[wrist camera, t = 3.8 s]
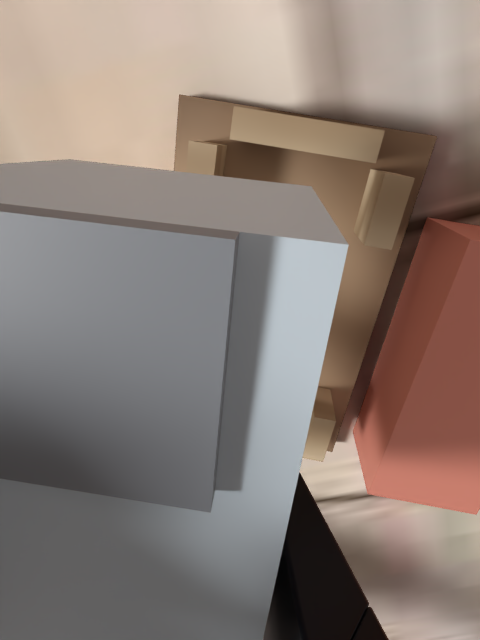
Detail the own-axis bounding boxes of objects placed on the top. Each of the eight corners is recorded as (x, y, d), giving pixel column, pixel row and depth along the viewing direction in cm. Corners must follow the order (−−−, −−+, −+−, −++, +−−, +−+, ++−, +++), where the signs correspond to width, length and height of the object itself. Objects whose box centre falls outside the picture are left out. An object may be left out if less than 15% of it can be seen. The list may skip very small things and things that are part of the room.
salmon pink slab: (440, 444, 22) (476, 514, 18) (352, 429, 22) (367, 494, 18) (541, 235, 17) (624, 264, 13) (425, 216, 17) (470, 239, 13)
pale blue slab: (248, 566, 13) (225, 821, 8) (102, 541, 13) (-6, 773, 8) (311, 186, 8) (355, 254, 3) (69, 159, 8) (-259, 179, 3)
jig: (330, 441, 22) (337, 488, 19) (160, 409, 22) (141, 449, 19) (430, 136, 15) (465, 134, 12) (183, 96, 16) (160, 85, 13)
